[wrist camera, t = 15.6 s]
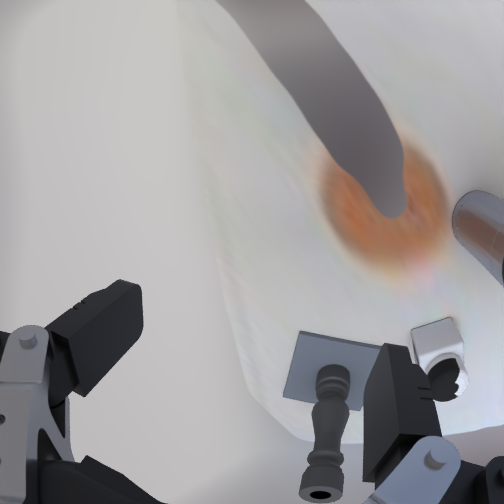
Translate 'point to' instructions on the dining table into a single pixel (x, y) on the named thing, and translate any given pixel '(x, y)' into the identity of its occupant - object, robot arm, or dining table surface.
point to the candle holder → (327, 436)
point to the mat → (326, 353)
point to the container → (441, 358)
